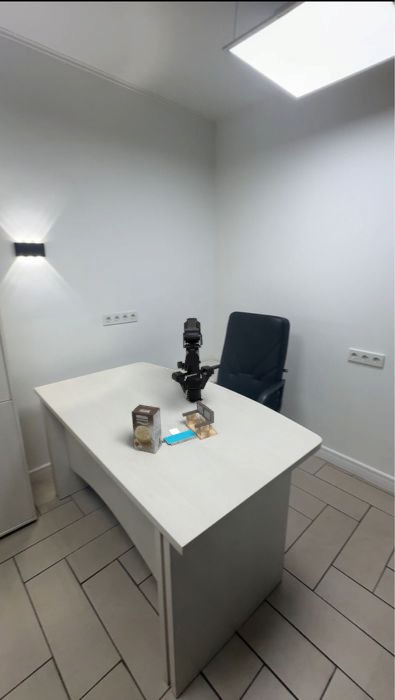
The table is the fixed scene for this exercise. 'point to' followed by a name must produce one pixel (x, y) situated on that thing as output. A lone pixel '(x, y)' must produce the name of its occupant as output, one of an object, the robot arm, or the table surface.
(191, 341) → the robot arm
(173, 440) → the blue flat piece
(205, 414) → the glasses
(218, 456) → the table surface
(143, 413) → the coffee box
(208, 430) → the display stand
